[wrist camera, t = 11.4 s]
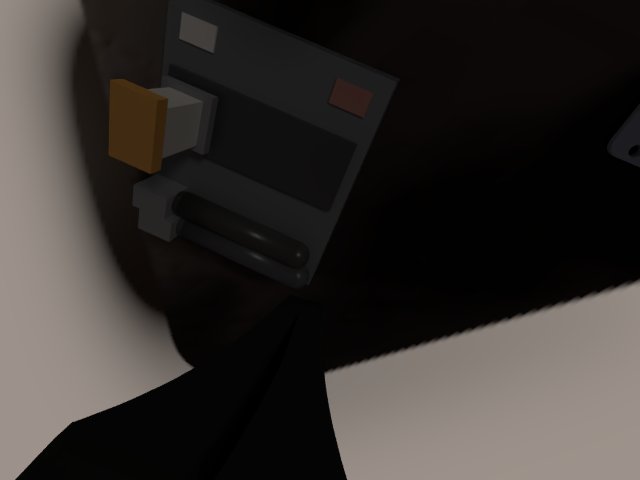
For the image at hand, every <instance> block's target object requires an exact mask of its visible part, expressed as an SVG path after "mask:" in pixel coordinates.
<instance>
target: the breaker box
mask: <svg viewBox="0 0 640 480" xmlns="http://www.w3.org/2000/svg"><path fill="white" fill-rule="evenodd" d="M162 76H171V77H173V78H175V79H178V80H180V81H182V82H185V83H187V84H189V85H191V86H194V87H196V88H198V89H201V90H203V91H205V92H207V93H210V94H212V95H214V96H217V97H219V99H218V104H217V110H216V115H215V121H214V126H213V132H212V137H211V143H210V148H209V153H207V154H205V155H201V154H199V153H197V152H195V151H192V150H190V149H186V150H183V151H181V152H178V153H176V154H173V155H170V156H168V157H165V158H162V163H161V170H159V171H157V172H154V173H153V175H152V177H150V178H147V179H145V180H143V181H140V182H138V183H136V184H134V188H133V204H132V205H133V206H135V207H137V208H139V222H138V228H139V229H141V230H144V231H146V232H148V233H150V234H152V235H155V236H157V237H159V238H161V239H163V240H165V241H168V242H170V241H171V240H172V239H174V238H175V237H177V236H179V237H181V238H183V239H185V240H187V241H190V242H192V243H194V244H196V245H198V246H201V247H203V248H205V249H207V250H209V251H211V252H214V253H216V254H218V255H220V256H222V257H225V258H227V259H229V260H231V261H233V262H236V263H238V264H240V265H242V266H244V267H247V268H249V269H251V270H253V271H255V272H258V273H260V274H262V275H264V276H266V277H269V278H271V279H273V280H275V281H277V282H279V283H282V284H284V285H286V286H288V287H290V288H294V289H298V288H302V287H303V286H305V285H306V284H307V285H309V283H310V281H311V279H312V277H313V275H314V273H315V271H316V269H317V267H318V265H319V262H320V260H321V258H322V256H323V254H324V251H325V249H326V247H327V244H328V242H329V240H330V238H331V235H332V233H333V231H334V228H335V226H336V224H337V222H338V219H339V217H340V215H341V212H342V210H343V208H344V206H345V203H346V201H347V199H348V197H349V194H350V192H351V190H352V187H353V185H354V183H355V181H356V178H357V176H358V174H359V171H360V169H361V167H362V165H363V162H364V160H365V158H366V155H367V153H368V151H369V149H370V146H371V144H372V142H373V139H374V137H375V135H376V133H377V130H378V128H379V126H380V123H381V121H382V119H383V117H384V114H385V112H386V110H387V107H388V105H389V103H390V101H391V98H392V96H393V94H394V91H395V89H396V87H397V85H398V82H399V80H400V79H398V78H396V77H394V76H391V75H389V74H387V73H384V72H382V71H379V70H377V69H375V68H372V67H370V66H368V65H365V64H363V63H361V62H358V61H356V60H353V59H351V58H349V57H346V56H344V55H342V54H339V53H337V52H335V51H332V50H330V49H327V48H325V47H323V46H320V45H318V44H316V43H313V42H311V41H309V40H306V39H304V38H301V37H299V36H297V35H294V34H292V33H290V32H287V31H285V30H283V29H280V28H278V27H275V26H273V25H271V24H268V23H266V22H264V21H261V20H259V19H257V18H254V17H252V16H249V15H247V14H245V13H242V12H240V11H238V10H235V9H233V8H231V7H228V6H226V5H223V4H221V3H219V2H216V1H214V0H169V5H168V16H167V26H166V37H165V48H164V58H163V69H162ZM161 82H162V80H161Z"/></svg>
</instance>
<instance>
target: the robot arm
mask: <svg viewBox="0 0 640 480" xmlns="http://www.w3.org/2000/svg"><path fill="white" fill-rule="evenodd" d="M635 145H638V150H637V152H636V153H634V154H632V155H629V153H628V152H629V150H630V148H632V147H633V146H635ZM607 151H608V153H609V154H611V155H612V156H614V157H617V158H619V159H621V160H624V161H626V162H629V163H631V164H633V165H636V166H638V167H640V104H639V105H638V106H637V108H636V109H635V110H634V111H633V112H632V114H631V115H630V116H629V117H628V119H627V120H626V121H625V122H624V124H623V125H622V126H621V127H620V128H619V130H618V131H617V132H616V133H615V135H614V136H613V137H612V138H611V140H610V141H609V143H608V145H607ZM326 314H327V306H326V305H325V304H322V303H318V302H314V301H311V300H307V299H303V298H299V297H295V296H291V295H290V296H288V297H286V298H285V299H284V300H283V301H282V302H281V303H280V304H279V305H278V306H277V307H276V308H275V309H274V310H273V311H272V312H271V313H270V314H268V315H267V316H266V317H265V318H264V319H263V320H261V321H260V322H259V323H258V324H257V325H255V326H254V327H253V328H252V329H251V330H249V331H248V332H247V333H246V334H244V335H243V336H241V337H240V338H239V339H237V340H236V341H235V342H233V343H232V344H231V345H229V346H228V347H227V348H225V349H224V350H222V351H221V352H219V353H218V354H216V355H215V356H213V357H212V358H210V359H208V360H207V361H205V362H204V363H202V364H200V365H199V366H197V367H195V368H193V369H192V370H190V371H188V372H186V373H184V374H183V375H181V376H179V377H178V378H176V379H174V380H172V381H170V382H168V383H166V384H164V385H162V386H160V387H157V388H155V389H153V390H151V391H149V392H147V393H145V394H143V395H140V396H138V397H136V398H134V399H132V400H129V401H127V402H125V403H122V404H120V405H117V406H115V407H112V408H110V409H107V410H105V411H102V412H99V413H96V414H94V415H91V416H89V417H86V418H83V419H81V420H78V421H75V422H72V423H71V424H70V425H69V426H68V427H67V428H65V429H64V430H63V431H62V432H61V433H60V434H59V435H58V436H57V437H56V438H54V439H53V441H52V442H51V443H50V444H49V445H48V446H47V447H46V448H45V449H44V450H43V451H42V452H41V453H40V454H39V455H38V456H37V457H36V458H35V459H34V460H33V461H32V463H31V464H30V465H29V466H28V467H27V468H26V469H25V470H24V471H23V472H22V473H21V474H20V475H19V476H18V477H17V478H16V479H15V480H347V478H346V474H345V471H344V468H343V464H342V461H341V457H340V453H339V449H338V445H337V441H336V437H335V433H334V429H333V424H332V420H331V414H330V409H329V404H328V398H327V392H326V384H325V375H324V364H323V331H324V325H325V319H326Z"/></svg>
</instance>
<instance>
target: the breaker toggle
mask: <svg viewBox="0 0 640 480" xmlns="http://www.w3.org/2000/svg"><path fill="white" fill-rule="evenodd" d="M218 99H219V97H217V96H214V95H212V94H210V93H207V92H205V91H203V90H201V89H198V88H196V87H194V86H191V85H189V84H187V83H185V82H182V81H180V80H178V79H175V78H173V77H171V76H162V82H161V88H156V89H145V88H143V87H140V86H138V85H136V84H133V83H131V82H129V81H127V80H124V79H115V80H110V119H109V125H110V126H109V155H110V156H112V157H114V158H116V159H118V160H120V161H123V162H125V163H127V164H129V165H132V166H134V167H136V168H138V169H141V170H143V171H145V172H147V173H149V174H152V173H154V172H157V171H159V170H161V163H162V158H165V157H168V156H170V155H173V154H176V153H178V152H181V151H183V150H186V149H190V150H192V151H195V152H197V153H199V154H201V155H205V154H207V153H209V148H210V143H211V137H212V132H213V126H214V121H215V115H216V110H217V104H218Z"/></svg>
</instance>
